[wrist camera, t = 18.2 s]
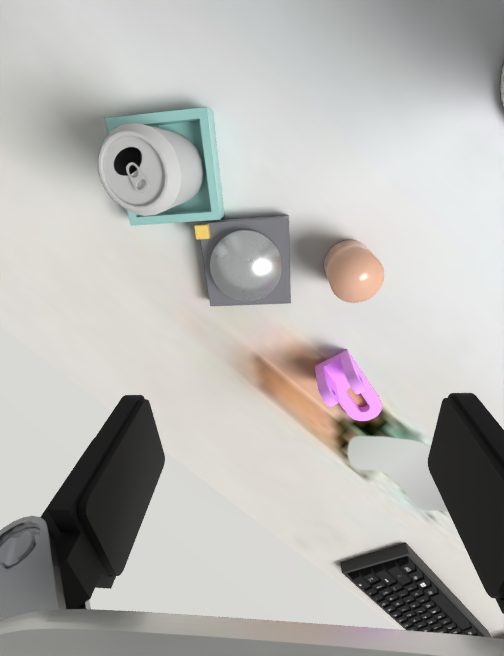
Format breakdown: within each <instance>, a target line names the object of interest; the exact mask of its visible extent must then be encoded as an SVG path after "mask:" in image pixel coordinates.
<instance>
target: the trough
mask: <svg viewBox="0 0 504 656" xmlns="http://www.w3.org/2000/svg"><path fill="white" fill-rule="evenodd" d="M105 121H106V125H107V129H108V134H109V133H110V132H111V131H112V130H114V129H115V128H117V127H119V126H121V125H123V124H130V123H139V124H143V125H147V126H151V127H155V128H159V129H163V130H167V131H171V132H175V133H179V134H182V135H183V136H185V137H186V138H188V139H189V140H190V141H191V142H192V143H193V144H194V145H195V147H196V148H197V149H198V151H199V153H200V156H201V158H202V160H203V168H204V176H203V183H202V185H201V187H200V189H199V191H198V193H197V194H196V195H195V196H194V197H193V198H192V199H190V200H188V201H186V202H184V203H182V204H179V205H177V206H175V207H172V208H170V209H168V210H166V211H163V212H161V213H159V214H157V215H148V216H142V215H138V214H134V213H131V212H129V211H128V210H127V212H128V216H129V220H130V225H131V226H132V225H147V224H162V223H176V222H191V221H206V220H220V219H221V218H222V217H223V216H224V207H223V198H222V189H221V180H220V171H219V162H218V153H217V144H216V135H215V126H214V117H213V111H212V110H210V109H209V108H207V107H203V108H194V109H184V110H175V111H166V112H156V113H147V114H138V115H128V116H119V117H110V118H105Z"/></svg>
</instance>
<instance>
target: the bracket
mask: <svg viewBox="0 0 504 656" xmlns="http://www.w3.org/2000/svg"><path fill="white" fill-rule="evenodd" d="M315 372H316V379H317V385H318V389H319V392H320V394H321V396H322V398H323V400H324V402H325V403H326V404H327V405H328V406H329V407H331V406H334V405H336V404H338V403H340V405H341V406H342V407H343V409H344V410H345V411H346V413H347V414H348V415H349V416H350V417H351V418H352V419H355V420H358V421H367V420H371V419H373V418H375V417H376V416H377V415H378V414H379V413H380V412H381V409H382V403H381V401H380V398H379V396H378V394H377V393H376V391H375V390H374V388H373V387H372V385H371V384H370V383H369V381H368V380H367V378H366V377H365V375H364V374H363V372H362V371H361V369H360V368H359V366H358V365H357V363H356V362H355V360H354V359H353V357H352V356H351V354H350V353H349V351H348V350H345V351H343V352H341V353H339V354H337V355H335V356H333V357H331V358H329V359H327V360H325V361H323V362H321V363H319V364H318V365H316V366H315ZM349 388H352V389H353V391H354V392H355V393H356V394H357V395H358V394H360V393H361V394H362V396H363V397H364V399H365V400H366V402H367V403H368V404H367V405H366V406H364V407H359V406H357V404H356V403H355V402H354V400H353V399H352V397H351V396H350V395H349V393H348V392H347V390H348V389H349Z"/></svg>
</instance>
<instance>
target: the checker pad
mask: <svg viewBox="0 0 504 656" xmlns="http://www.w3.org/2000/svg"><path fill="white" fill-rule="evenodd" d="M210 271H211V275H212V278H213V280H214V282H215V284H216V285H217V287H218V288H219V289H220V290H221V291H222V292H223V293H224V294H226V295H227V296H229V297H231V298H233V299H235V300H239V301H255V300H259V299H261V298H263V297H265V296H267V295H268V294H270V293H271V292H272V291H273V290H274V288H275V287H276V286H277V284H278V282H279V280H280V277H281V272H282V261H281V256H280V253H279V250H278V248H277V246H276V245H275V244H274V242H273V241H272V240H271V239H270V238H269V237H267V236H266V235H264V234H263V233H260V232H258V231H255V230H249V229H242V230H237V231H233V232H231V233H229V234H227V235H226V236H225V237H223V238H222V239H221V240H220V241H219V243H218V244H217V245H216V247H215V248H214V250H213V252H212V255H211V260H210Z"/></svg>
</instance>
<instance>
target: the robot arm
mask: <svg viewBox="0 0 504 656" xmlns="http://www.w3.org/2000/svg"><path fill="white" fill-rule="evenodd" d="M500 88H501V100H502V103H503V106H504V65H503V69H502V75H501V85H500ZM164 462H165V456H164V452H163V448H162V445H161V441H160V438H159V434H158V431H157V427H156V424H155V420H154V417H153V413H152V410H151V406H150V403H149V401H148V400H146V399H144V397H143V396H142V395H125V396H123V397H122V398H121V400H120V401H119V403H118V404H117V406H116V407H115V409H114V410H113V412H112V413H111V415H110V416H109V418H108V419H107V421H106V422H105V424H104V425H103V427H102V428H101V430H100V431H99V433H98V434H97V436H96V437H95V438H94V439H93V441H92V442H91V443H90V445H89V446H88V448H87V449H86V451H85V452H84V454H83V455H82V456H81V458H80V459H79V461H78V462H77V464H76V466H75V467H74V468H73V470H72V471H71V473H70V474H69V476H68V477H67V479H66V480H65V482H64V483H63V485H62V486H61V488H60V489H59V491H58V492H57V493H56V495H55V496H54V498H53V499H52V501H51V502H50V504H49V505H48V507H47V508H46V510H45V511H44V513H43V515H42V516H41V517H36V516H29V517H24V518H21V519H19V520H16V521H14V522H12V523H11V524H9V525H7V526H6V527H4V528H3V529H2V530H0V656H504V639H502V638H491V637H481V636H470V635H459V634H446V633H433V632H420V631H407V630H393V629H381V628H368V627H354V626H341V625H327V624H313V623H298V622H285V621H271V620H256V619H243V618H228V617H213V616H198V615H181V614H167V613H152V612H136V611H135V612H134V611H113V610H91V608H90V603H89V599H90V598H91V596H92V593H93V591H94V589H95V587H98V588H111V587H112V585H113V582H114V580H115V577H116V576H119V575H120V574H121V573H122V572H123V570H124V567H125V565H126V562H127V559H128V557H129V554H130V552H131V549H132V547H133V544H134V542H135V539H136V536H137V534H138V531H139V528H140V526H141V523H142V521H143V518H144V516H145V513H146V510H147V508H148V505H149V503H150V500H151V498H152V495H153V492H154V490H155V487H156V485H157V482H158V479H159V477H160V474H161V472H162V469H163V466H164ZM428 467H429V470H430V473H431V475H432V477H433V480H434V482H435V484H436V486H437V488H438V490H439V492H440V494H441V496H442V499H443V501H444V503H445V505H446V507H447V509H448V512H449V514H450V516H451V518H452V520H453V522H454V524H455V527H456V529H457V531H458V533H459V535H460V537H461V539H462V542H463V544H464V546H465V548H466V550H467V552H468V554H469V556H470V559H471V561H472V563H473V565H474V567H475V569H476V571H477V574H478V576H479V578H480V580H481V582H482V584H483V586H484V588H485V590H486V592H487V593H488V595H489V596H490V597H491V598H496V601H497V603H498V605H499V607H500V609H501V611H502V613H503V614H504V430H503V429H502V427H501V426H500V425H499V424H498V422H497V421H496V420H495V419H494V418H493V416H492V415H491V414H490V413H489V411H488V410H487V409H486V408H485V406H484V405H483V404H482V403H481V401H480V400H479V399H478V398H477V397H476V396H475V395H474V394H472V393H451V394H450V395H449V396H448V398H444V399H443V401H442V404H441V408H440V412H439V417H438V421H437V425H436V429H435V433H434V437H433V441H432V445H431V449H430V453H429V457H428Z"/></svg>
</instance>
